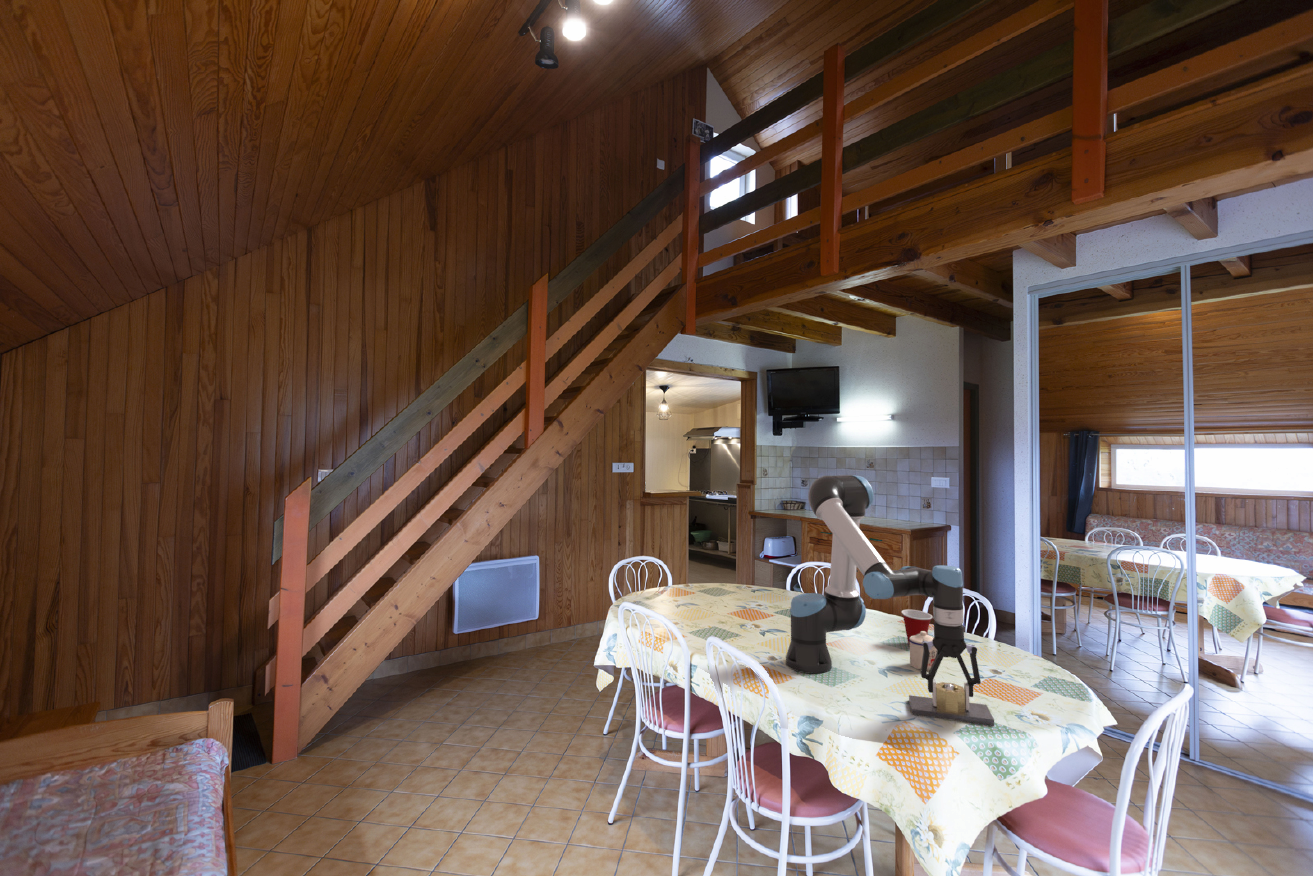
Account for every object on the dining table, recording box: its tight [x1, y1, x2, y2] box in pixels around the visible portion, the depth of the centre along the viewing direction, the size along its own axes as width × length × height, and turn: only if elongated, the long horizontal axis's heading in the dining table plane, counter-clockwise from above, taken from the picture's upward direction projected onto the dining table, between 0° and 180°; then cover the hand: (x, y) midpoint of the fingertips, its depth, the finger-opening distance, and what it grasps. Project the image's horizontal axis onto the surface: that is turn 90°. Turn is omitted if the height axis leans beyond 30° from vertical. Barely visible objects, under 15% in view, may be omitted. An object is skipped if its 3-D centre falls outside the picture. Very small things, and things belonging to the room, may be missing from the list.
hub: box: [936, 681, 965, 713], centre depth 163 cm, size 7×7×6 cm
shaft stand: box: [908, 682, 995, 726], centre depth 164 cm, size 20×10×8 cm, turn 71°
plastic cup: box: [901, 609, 934, 646], centre depth 222 cm, size 11×11×12 cm
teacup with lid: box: [909, 631, 937, 672], centre depth 200 cm, size 12×9×12 cm
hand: (950, 706), depth 163 cm, fingers open, 7 cm apart
